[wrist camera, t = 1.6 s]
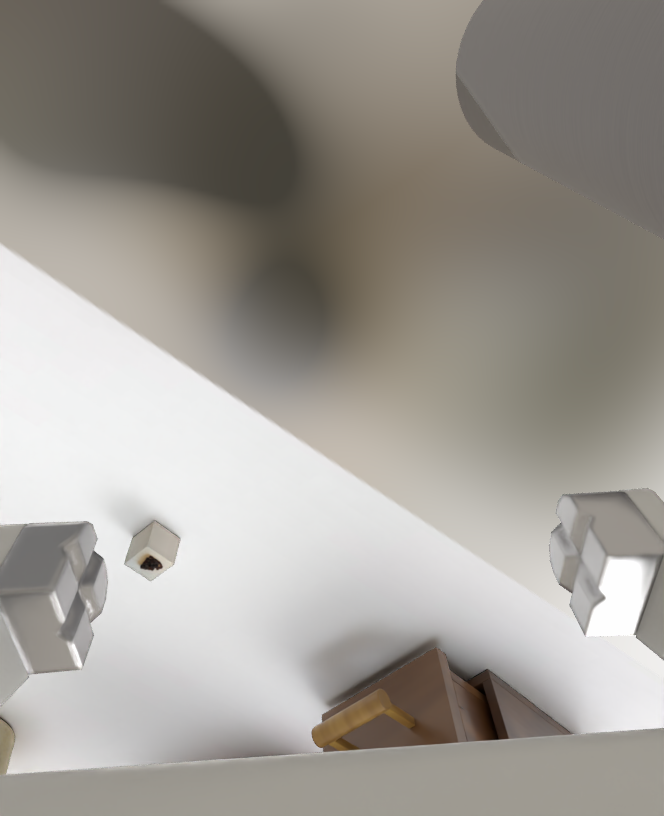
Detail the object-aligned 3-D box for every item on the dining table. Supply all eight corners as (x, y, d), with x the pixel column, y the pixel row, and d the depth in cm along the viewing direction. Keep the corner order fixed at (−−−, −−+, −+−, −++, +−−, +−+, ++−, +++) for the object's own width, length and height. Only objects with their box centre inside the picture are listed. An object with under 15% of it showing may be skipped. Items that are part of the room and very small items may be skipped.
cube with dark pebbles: (154, 519, 38) (146, 549, 36) (180, 538, 39) (174, 567, 37) (131, 538, 38) (122, 567, 36) (157, 555, 39) (150, 585, 37)
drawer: (284, 692, 46) (281, 819, 38) (400, 619, 42) (422, 743, 35) (426, 776, 53) (447, 897, 46) (535, 720, 50) (577, 841, 42)
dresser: (366, 737, 51) (381, 886, 42) (487, 668, 47) (533, 817, 38) (466, 797, 57) (498, 939, 48) (582, 741, 53) (640, 884, 44)
